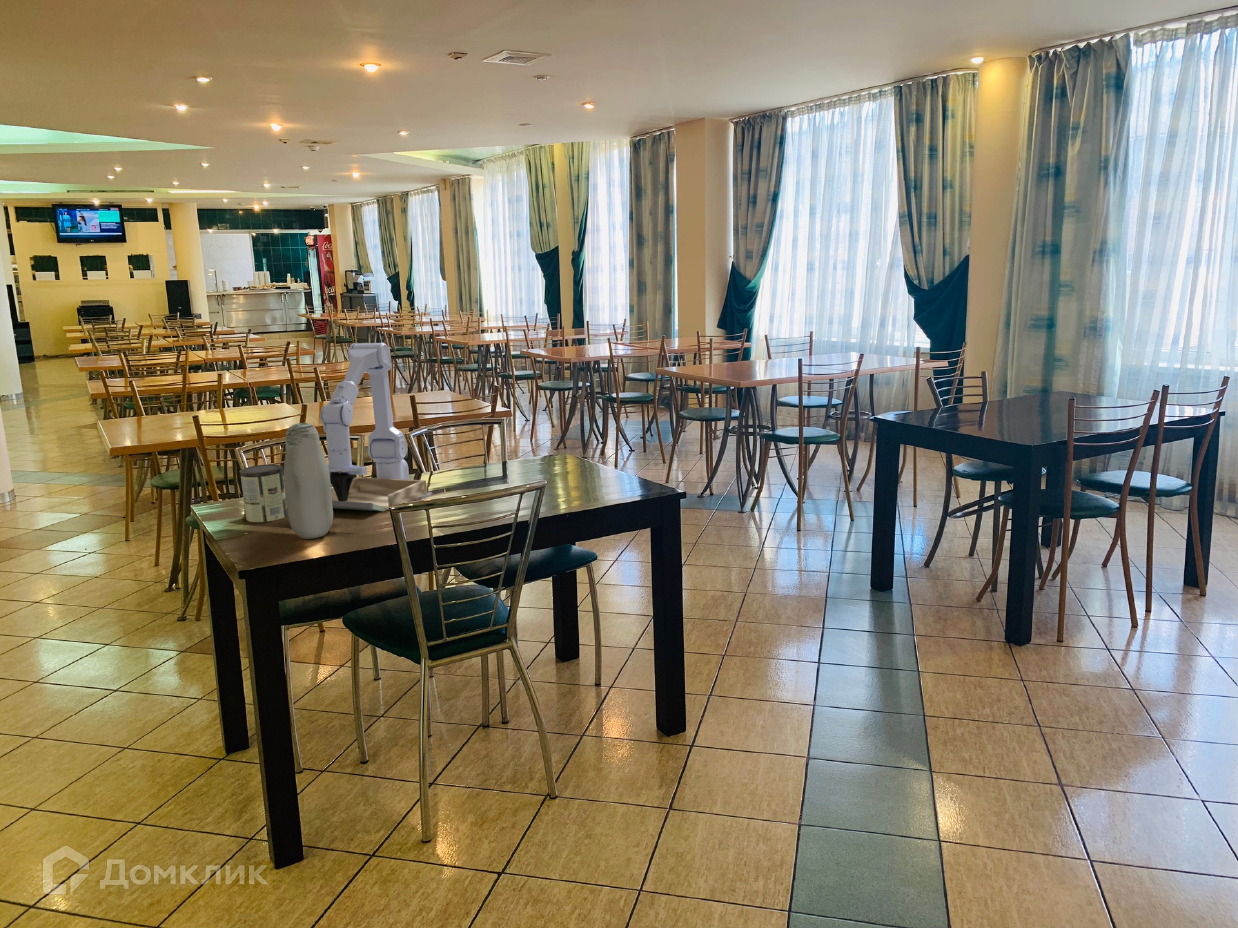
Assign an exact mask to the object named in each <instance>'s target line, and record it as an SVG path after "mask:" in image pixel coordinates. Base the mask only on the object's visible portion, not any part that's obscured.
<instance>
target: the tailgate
mask: <svg viewBox="0 0 1238 928" xmlns="http://www.w3.org/2000/svg"><path fill="white" fill-rule="evenodd" d="M332 507H333V509H341V510H343V509H344V510H354V511H355V510H356V511H357V510H358V511H369V512H370V511H372V512H375V511H376V512H385V511H387V509H386V507H383V506H379V505H376V504H373V503H362V502H346V501H332Z"/></svg>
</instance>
